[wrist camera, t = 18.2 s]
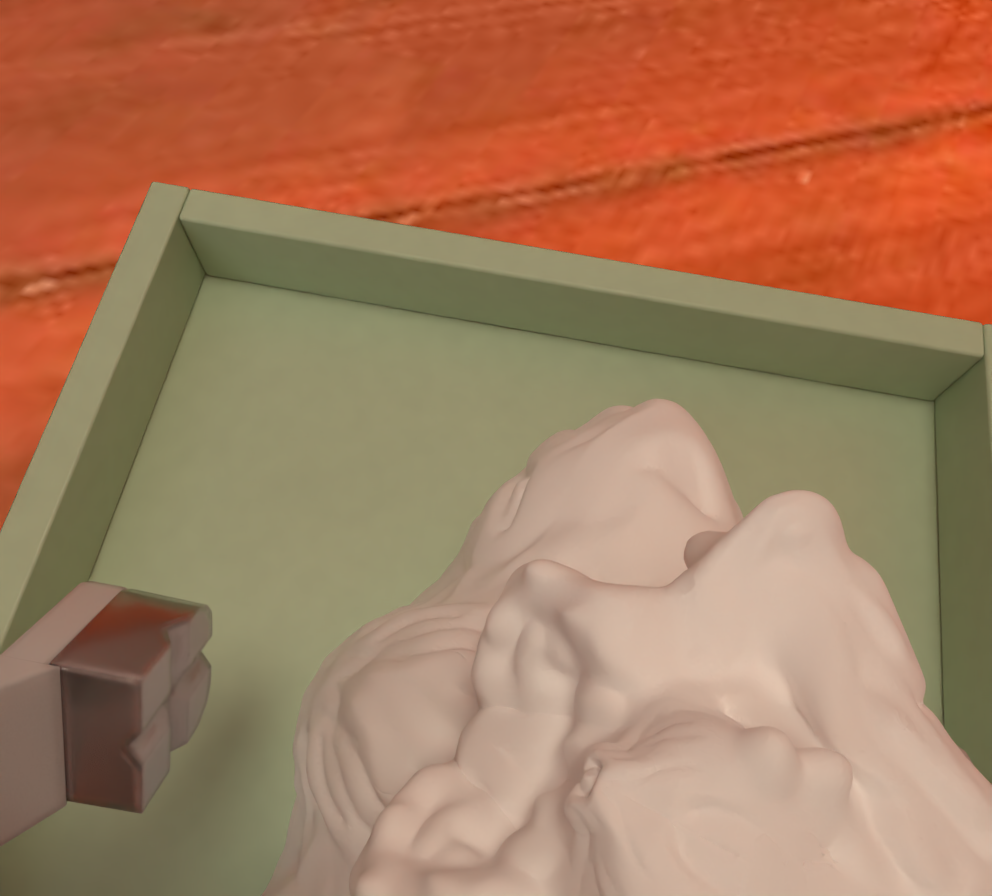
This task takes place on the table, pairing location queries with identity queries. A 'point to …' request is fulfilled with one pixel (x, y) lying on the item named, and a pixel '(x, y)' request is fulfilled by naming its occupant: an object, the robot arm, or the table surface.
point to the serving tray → (437, 470)
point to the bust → (634, 703)
